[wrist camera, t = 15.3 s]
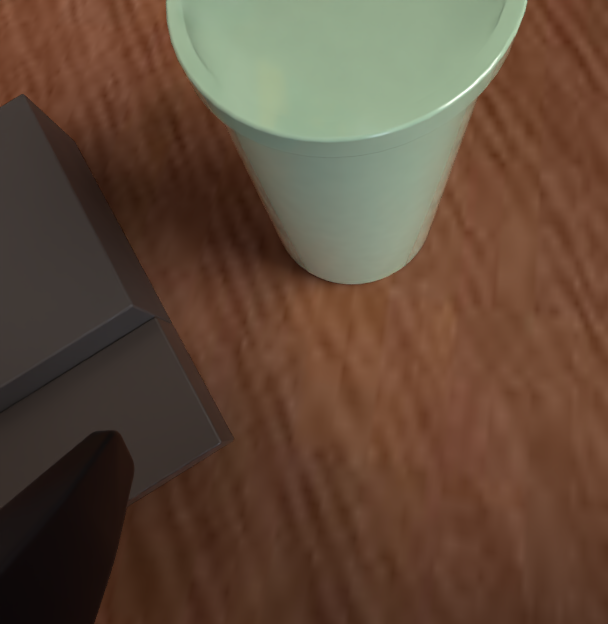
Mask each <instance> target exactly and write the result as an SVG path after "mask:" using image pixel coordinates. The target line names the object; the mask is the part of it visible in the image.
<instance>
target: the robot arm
mask: <svg viewBox="0 0 608 624" xmlns="http://www.w3.org/2000/svg"><path fill="white" fill-rule="evenodd" d="M133 477H134V461H133V459H132V457H131V454H130V452H129V450H128V448H127V446H126V444H125V442H124V440H123V438H122V436H121V434H120V433H119V432H118V431H115V430H107V431H95V432H93V433H91V434H90V435H88V436H87V437H86V438H85V439H84V440H82V441H81V442H80V443H79V444H78V445H76V446H75V447H74V448H73V449H72V450H70V451H69V452H68V453H67V454H66V455H64V456H63V457H62V458H61V459H60V460H58V461H57V462H56V463H55V464H53V465H52V466H51V467H50V468H49V469H47V470H46V471H45V472H44V473H43V474H41V475H40V476H39V477H38V478H37V479H35V480H34V481H33V482H32V483H31V484H29V485H28V486H27V487H26V488H25V489H23V490H22V491H21V492H20V493H19V494H17V495H16V496H15V497H14V498H13V499H11V500H10V501H9V502H8V503H7V504H5V505H4V506H3V507H2V508H1V509H0V624H94V622H95V619H96V616H97V613H98V610H99V607H100V604H101V601H102V598H103V595H104V592H105V589H106V586H107V583H108V580H109V577H110V574H111V570H112V567H113V564H114V561H115V557H116V553H117V549H118V545H119V540H120V536H121V531H122V527H123V522H124V518H125V513H126V509H127V504H128V500H129V495H130V490H131V486H132V481H133Z"/></svg>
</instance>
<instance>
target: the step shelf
mask: <svg viewBox="0 0 608 624" xmlns="http://www.w3.org/2000/svg"><path fill="white" fill-rule="evenodd" d="M107 430H115V431H118V432H119V433H120V434H121V436H122V438H123V440H124V442H125V444H126V446H127V448H128V450H129V452H130V454H131V457H132V459H133V461H134V477H133V481H132V486H131V490H130V495H129V500H128V504H127V507H128V506H129V505H131V504H133V503H134V502H136V501H137V500H139V499H141V498H142V497H144V496H145V495H147V494H149V493H150V492H152V491H153V490H155V489H157V488H158V487H160V486H162V485H163V484H165V483H166V482H168V481H170V480H171V479H173V478H174V477H176V476H178V475H179V474H181V473H182V472H184V471H186V470H187V469H189V468H191V467H192V466H194V465H195V464H197V463H199V462H200V461H202V460H203V459H205V458H207V457H208V456H210V455H211V454H213V453H215V452H216V451H218V450H219V449H221V448H223V447H224V446H226V445H228V444H229V443H231V442H232V441H233V440H234V438H233V436H232V434H231V432H230V430H229V429H228V427H227V425H226V423H225V421H224V419H223V417H222V415H221V414H220V412H219V410H218V408H217V406H216V404H215V402H214V401H213V399H212V397H211V395H210V393H209V391H208V389H207V388H206V386H205V384H204V382H203V380H202V378H201V376H200V374H199V373H198V371H197V369H196V367H195V365H194V363H193V361H192V360H191V358H190V356H189V354H188V352H187V350H186V348H185V347H184V345H183V343H182V341H181V339H180V337H179V335H178V333H177V332H176V330H175V328H174V326H173V325H172V324H171V320H170V319H169V317H168V315H167V313H166V311H165V309H164V307H163V306H162V304H161V302H160V300H159V298H158V296H157V294H156V293H155V291H154V289H153V287H152V285H151V283H150V281H149V279H148V278H147V276H146V274H145V272H144V270H143V268H142V266H141V265H140V263H139V261H138V259H137V257H136V255H135V253H134V251H133V250H132V248H131V246H130V244H129V242H128V240H127V238H126V237H125V235H124V233H123V231H122V229H121V227H120V225H119V224H118V222H117V220H116V218H115V216H114V214H113V212H112V210H111V209H110V207H109V205H108V203H107V201H106V199H105V197H104V196H103V194H102V192H101V190H100V188H99V186H98V184H97V182H96V181H95V179H94V177H93V175H92V173H91V171H90V169H89V168H88V166H87V164H86V162H85V160H84V158H83V156H82V155H81V153H80V151H79V149H78V147H77V145H76V143H75V141H74V140H72V139H71V138H70V137H69V136H68V135H67V134H66V133H65V132H64V131H63V130H62V129H61V128H60V127H59V126H57V125H56V124H55V123H54V122H53V121H52V120H51V119H50V118H49V117H48V116H47V115H46V114H45V113H43V112H42V111H41V110H40V109H39V108H38V107H37V106H36V105H35V104H34V103H33V102H32V101H31V100H30V99H28V98H27V97H26V96H25V95H24V94H21V95H19V96H18V97H16V98H15V99H13V100H11V101H10V102H8V103H7V104H5V105H3V106H2V107H0V509H1V508H2V507H3V506H4V505H5V504H7V503H8V502H9V501H10V500H11V499H13V498H14V497H15V496H16V495H17V494H19V493H20V492H21V491H22V490H23V489H25V488H26V487H27V486H28V485H29V484H31V483H32V482H33V481H34V480H35V479H37V478H38V477H39V476H40V475H41V474H43V473H44V472H45V471H46V470H47V469H49V468H50V467H51V466H52V465H53V464H55V463H56V462H57V461H58V460H60V459H61V458H62V457H63V456H64V455H66V454H67V453H68V452H69V451H70V450H72V449H73V448H74V447H75V446H76V445H78V444H79V443H80V442H81V441H82V440H84V439H85V438H86V437H87V436H88V435H90V434H91V433H93V432H95V431H107Z"/></svg>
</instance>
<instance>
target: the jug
mask: <svg viewBox="0 0 608 624" xmlns="http://www.w3.org/2000/svg"><path fill="white" fill-rule="evenodd" d="M527 1H528V0H166V16H167V27H168V31H169V36H170V40H171V44H172V47H173V49H174V52H175V54H176V57H177V59H178V62H179V64H180V66H181V67H182V69H183V71H184V73H185V75H186V77H187V79H188V80H189V82H190V84H191V85H192V87H193V89H194V91H195V92H196V94H197V96H198V97H199V98H200V99H201V100H202V102H203V103H204V104H205V105H206V106H207V108H208V109H209V110H210V111H211V112H212V113H213V114H214V115H215V116H217V117H218V118H219V119H220V120H221V121H222V122H223V123H224V125H225V127H226V129H227V131H228V133H229V135H230V137H231V139H232V141H233V143H234V145H235V147H236V149H237V151H238V153H239V155H240V157H241V159H242V162H243V164H244V166H245V168H246V170H247V172H248V174H249V176H250V178H251V180H252V182H253V184H254V186H255V188H256V190H257V192H258V194H259V196H260V198H261V201H262V203H263V205H264V207H265V209H266V211H267V213H268V215H269V217H270V219H271V221H272V223H273V225H274V227H275V229H276V231H277V233H278V235H279V237H280V239H281V242H282V244H283V245H284V247H285V249H286V250H287V252H288V253H289V255H290V256H291V257H292V258H293V260H294V261H296V262H297V263H298V264H299V265H300V266H301V267H302V268H304V269H305V270H306V271H308V272H309V273H311V274H313V275H315V276H317V277H319V278H322V279H324V280H327V281H331V282H335V283H341V284H362V283H369V282H373V281H376V280H380V279H382V278H385V277H387V276H389V275H391V274H393V273H395V272H396V271H398V270H400V269H401V268H402V267H404V266H405V265H406V264H407V263H408V262H409V261H410V260H411V259H412V258H413V257H414V256H415V255H416V254H417V253H418V251H419V250H420V249H421V247H422V245H423V244H424V242H425V240H426V238H427V236H428V233H429V231H430V228H431V225H432V223H433V220H434V217H435V214H436V212H437V209H438V206H439V203H440V200H441V198H442V195H443V192H444V189H445V187H446V184H447V181H448V178H449V176H450V173H451V170H452V167H453V165H454V162H455V159H456V156H457V154H458V151H459V148H460V145H461V143H462V140H463V137H464V134H465V132H466V129H467V126H468V123H469V121H470V118H471V115H472V112H473V110H474V107H475V104H476V101H477V98H478V96H479V95H480V94H481V93H482V92H483V91H484V89H485V88H486V87H487V86H488V84H489V83H490V82H491V80H492V79H493V78H494V77H495V75H496V74H497V73H498V71H499V69H500V68H501V66H502V64H503V62H504V61H505V59H506V57H507V55H508V54H509V51H510V49H511V46H512V44H513V41H514V39H515V36H516V34H517V31H518V29H519V26H520V24H521V21H522V19H523V16H524V14H525V10H526V6H527Z"/></svg>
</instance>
